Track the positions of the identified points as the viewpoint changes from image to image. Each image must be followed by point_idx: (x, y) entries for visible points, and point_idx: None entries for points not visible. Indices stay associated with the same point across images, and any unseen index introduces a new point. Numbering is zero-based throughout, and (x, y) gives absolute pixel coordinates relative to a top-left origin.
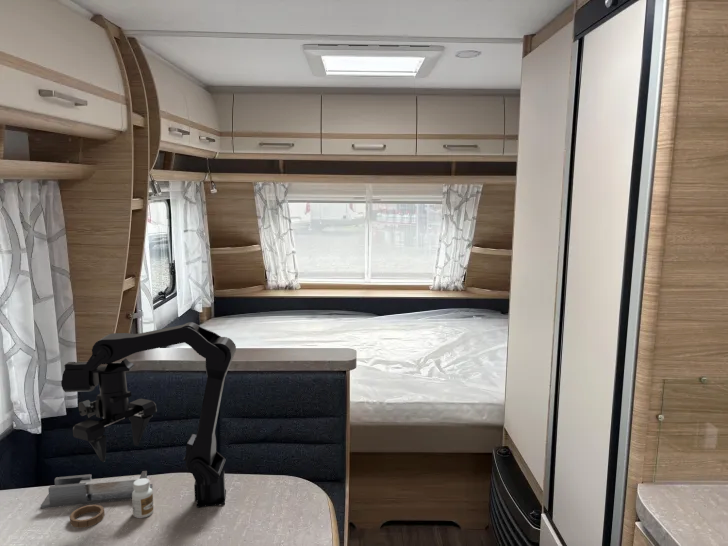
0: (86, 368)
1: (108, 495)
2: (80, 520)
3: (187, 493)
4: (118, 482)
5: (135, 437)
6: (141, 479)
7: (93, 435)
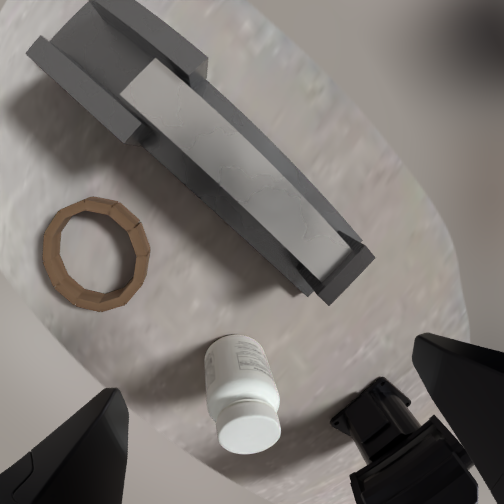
0: None
1: None
2: (60, 286)
3: (373, 352)
4: (255, 218)
5: (451, 384)
6: (262, 424)
7: None
